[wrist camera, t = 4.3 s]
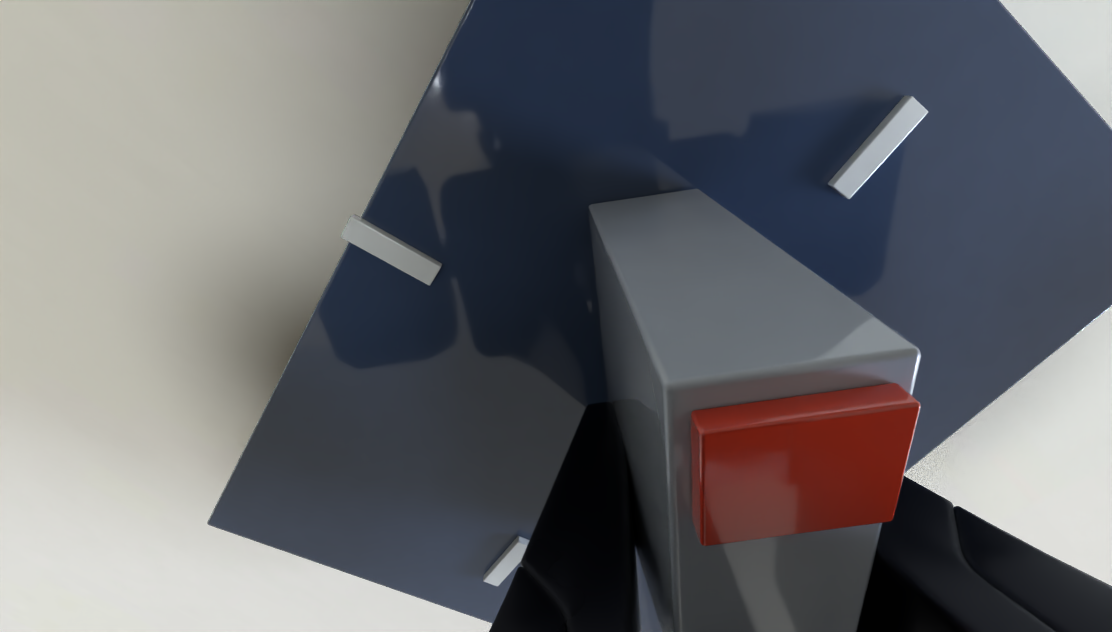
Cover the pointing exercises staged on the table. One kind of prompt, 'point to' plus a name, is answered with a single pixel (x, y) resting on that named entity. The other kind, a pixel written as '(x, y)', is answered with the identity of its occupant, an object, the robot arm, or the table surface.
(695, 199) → the gray bar
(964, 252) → the tap base
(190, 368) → the table surface
